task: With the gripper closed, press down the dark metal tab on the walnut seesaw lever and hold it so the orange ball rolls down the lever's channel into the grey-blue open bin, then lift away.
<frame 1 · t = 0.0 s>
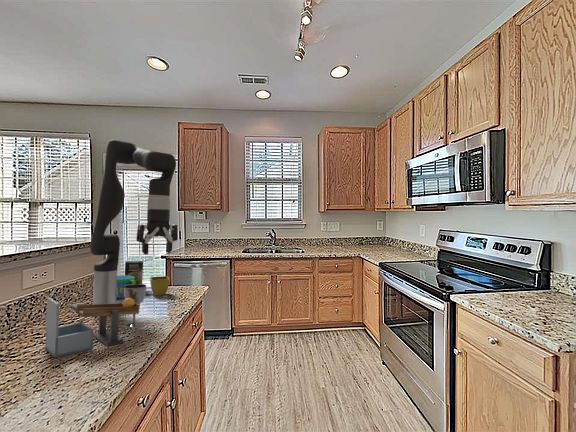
hand: (157, 253, 120), 29 cm above the counter, tool pointing down, fingers open, 8 cm apart
lever stand: (107, 339, 115), on the counter
snack cup: (122, 297, 170), on the counter
ball: (128, 303, 120), point 11 cm above the counter, tilted 12°, touching lever
lever: (104, 306, 117), point 10 cm above the counter, hinge at -8.0°, touching ball
grey-blue open bin: (69, 348, 106), on the counter
wine glass: (133, 324, 131), on the counter
coffee box: (133, 291, 184), on the counter
flower pot: (159, 295, 177), on the counter
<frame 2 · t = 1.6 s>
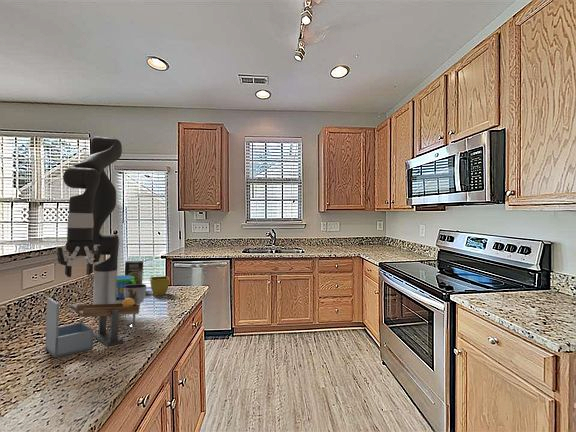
hand: (78, 275, 115), 21 cm above the counter, tool pointing down, fingers open, 5 cm apart
nothing on the counter moved.
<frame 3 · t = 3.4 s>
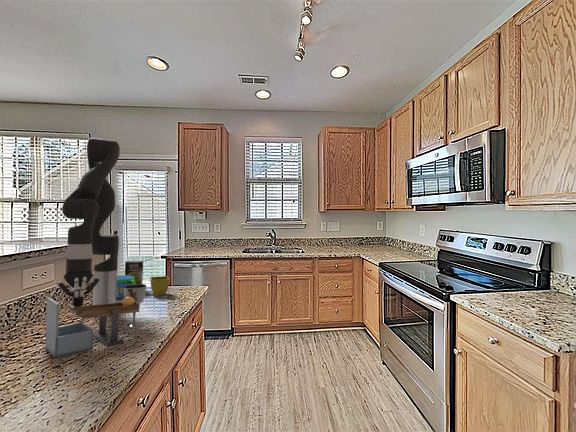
hand: (77, 307, 115), 11 cm above the counter, tool pointing down, fingers closed
lever: (104, 306, 117), point 10 cm above the counter, hinge at -4.1°, touching ball, gripper
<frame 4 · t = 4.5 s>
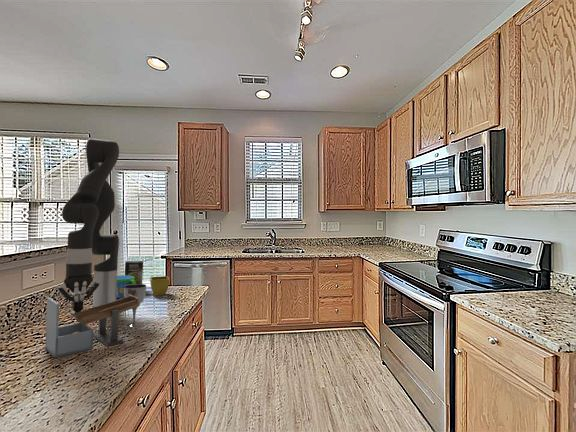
hand: (77, 311, 115), 9 cm above the counter, tool pointing down, fingers closed
ball: (76, 338, 108), point 3 cm above the counter, tilted 41°, touching grey-blue open bin
lever: (104, 306, 117), point 10 cm above the counter, hinge at 8.9°, touching gripper
everything else where it was.
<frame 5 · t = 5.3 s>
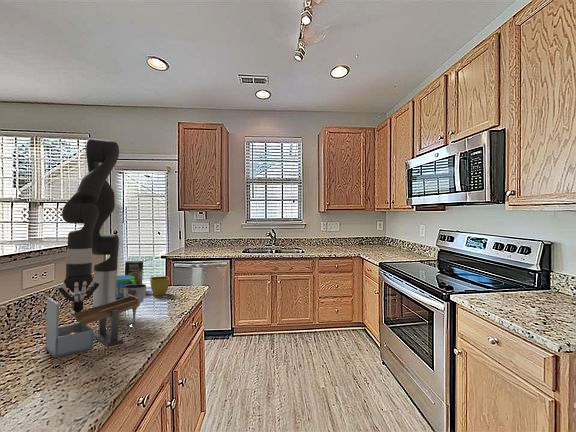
hand: (77, 311, 115), 9 cm above the counter, tool pointing down, fingers closed
ball: (73, 338, 107), point 3 cm above the counter, tilted 62°, touching grey-blue open bin
everything else where it was.
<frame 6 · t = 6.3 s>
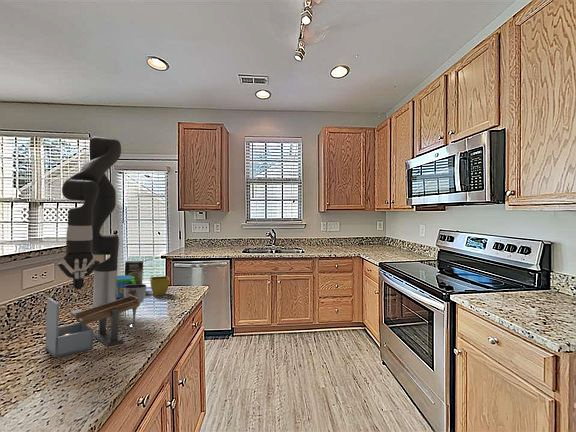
hand: (78, 289, 115), 17 cm above the counter, tool pointing down, fingers closed
ball: (67, 340, 106), point 3 cm above the counter, tilted 112°, touching grey-blue open bin
lever: (104, 306, 117), point 10 cm above the counter, hinge at 8.9°
everything else where it was.
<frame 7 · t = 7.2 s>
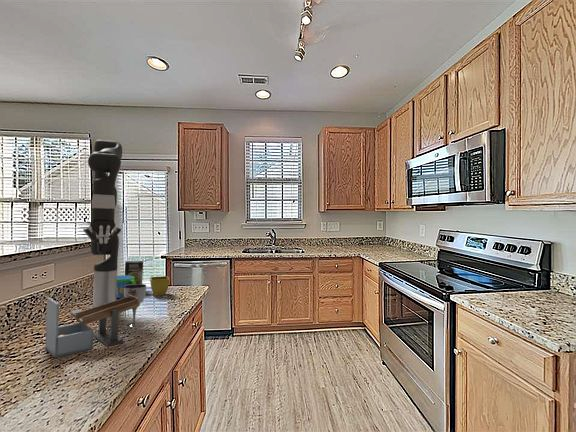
hand: (101, 253, 125), 28 cm above the counter, tool pointing down, fingers closed
ball: (61, 341, 104), point 3 cm above the counter, tilted 157°, touching grey-blue open bin
everything else where it was.
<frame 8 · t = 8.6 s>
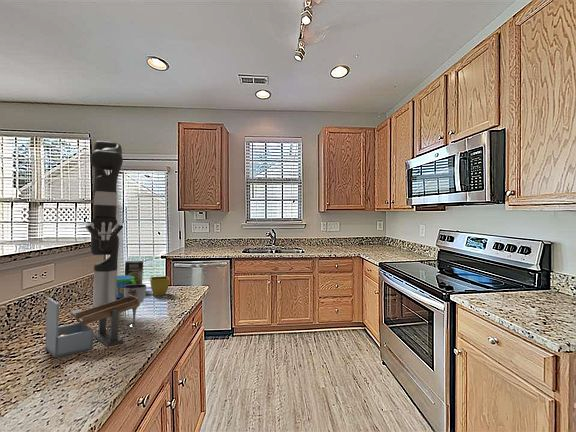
hand: (103, 250, 126), 29 cm above the counter, tool pointing down, fingers closed
ball: (62, 341, 105), point 3 cm above the counter, tilted 149°, touching grey-blue open bin
everything else where it was.
at the end: ball inside the target area on the grey-blue open bin (1.9 cm from its centre), point 2.8 cm above the grey-blue open bin's base; lever at +9° (first picture: -8°) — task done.
